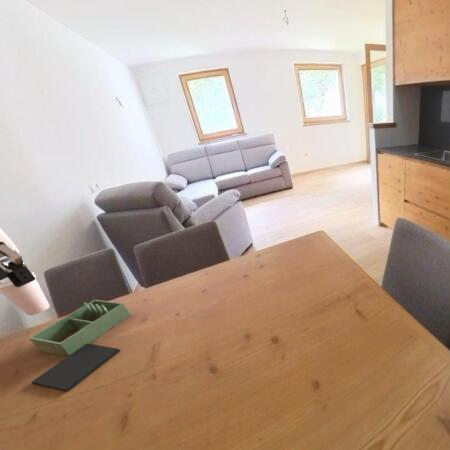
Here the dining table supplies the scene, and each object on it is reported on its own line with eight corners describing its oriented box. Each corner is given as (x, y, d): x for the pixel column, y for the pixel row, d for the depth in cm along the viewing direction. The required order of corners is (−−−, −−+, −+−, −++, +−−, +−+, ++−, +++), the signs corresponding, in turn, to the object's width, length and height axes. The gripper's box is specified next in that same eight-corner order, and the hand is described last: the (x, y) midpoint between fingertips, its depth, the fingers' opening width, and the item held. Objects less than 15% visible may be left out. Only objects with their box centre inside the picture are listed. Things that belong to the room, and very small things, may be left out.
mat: (32, 383, 70) (30, 381, 70) (88, 345, 81) (87, 343, 80) (67, 391, 68) (65, 389, 68) (120, 350, 78) (118, 348, 78)
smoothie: (62, 304, 72) (27, 259, 66) (25, 322, 67) (-17, 275, 61) (51, 298, 74) (16, 254, 68) (14, 315, 69) (-27, 269, 63)
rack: (39, 350, 80) (23, 333, 77) (102, 310, 94) (91, 294, 91) (70, 356, 77) (55, 338, 74) (130, 314, 91) (119, 298, 88)
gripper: (-99, 220, 57) (-34, 289, 65) (-42, 223, 54) (20, 295, 62) (-41, 206, 63) (11, 270, 71) (13, 208, 60) (62, 275, 68)
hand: (15, 281), depth 67 cm, fingers closed on smoothie, 6 cm apart
